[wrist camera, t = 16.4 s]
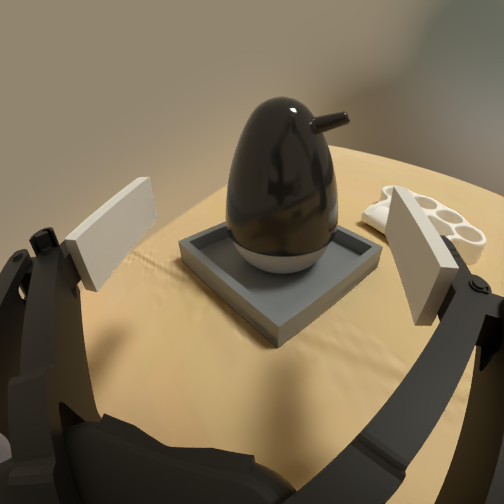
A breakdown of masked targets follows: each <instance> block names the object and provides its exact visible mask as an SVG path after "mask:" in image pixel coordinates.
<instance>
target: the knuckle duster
mask: <svg viewBox="0 0 504 504" xmlns="http://www.w3.org/2000/svg"><path fill="white" fill-rule="evenodd" d="M397 187H399V186H397ZM409 191H410V190H409ZM392 192H393V186H385V187H384V188H383V189H382V192H381V197H380V202H378V203H376V204H373V205H371V206H369V207H368V208H366V209H365V210H364V212H363V214H362V220H363V222H365V223H367V224H368V225H370V226H372V227H374V228H375V229H377V230H378V231H380V232H381V233H383V234H384V235H385V233H384V232H385V227H386V223H387V218H388V213H389V208H390V203H391V197H392ZM410 193H411V194H412V195H413V197H414V198H415V200H416V201H417V202H418V204H419V205H420V207H421V208H422V209H423V211H424V212H425V214H426V215H427V217H428V218H429V220H430V221H431V223H432V224H433V226H434V227H435V229H436V230H437V232H438V233H439V235H443V236H445V237H447V238H448V239H449V240H450V241H451V242H452V243H453V244H454V246H455V248H456V249H457V251H458V252H459V254H460V256H461V257H462V259H463V261H464V262H465V263H466V264H474V263H477V262H478V260H479V258H480V256H481V253H482V251H483V248H484V246H485V243H486V237H485V235H484V234H483V233H482V231H481V230H479V229H477V228H475V227H474V226H472V225H471V224H469V223H468V222H467V221H466V220H465V219H464V218H463V216H461V215H460V214H459V213H457V212H456V211H455V210H452V209H450V208H447V207H445V206H444V205H442V204H441V203H439V202H438V201H437V200H434V199H432V198H429V197H427V196H423V195H419V194H416V193H414V192H412V191H410Z"/></svg>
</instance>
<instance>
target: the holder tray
mask: <svg viewBox="0 0 504 504" xmlns="http://www.w3.org/2000/svg"><path fill="white" fill-rule="evenodd" d="M178 242H179V247H180V252H181V257H182V261H183V262H184V263H185V264H186V265H187V266H188V267H189V268H190V269H191V270H192V271H193V272H194V273H195V274H196V275H197V276H198V277H199V278H200V279H201V280H203V281H204V282H205V283H206V284H207V285H208V286H209V287H210V288H211V289H212V290H213V291H214V292H215V293H216V294H218V295H219V296H220V297H221V298H222V299H223V300H224V301H225V302H226V303H227V304H228V305H229V306H231V307H232V308H233V309H234V310H235V311H236V312H237V313H238V314H239V315H241V316H242V317H243V318H244V319H245V320H246V321H247V322H248V323H250V324H251V325H252V326H253V327H254V328H255V329H256V330H257V331H259V332H260V333H261V334H262V335H263V336H264V337H265V338H267V339H268V340H269V341H270V342H271V343H272V344H274V345H275V346H276V347H277V348H278V347H280V346H281V345H283V344H284V343H285V342H287V341H288V340H289V339H291V338H292V337H293V336H295V335H296V334H297V333H299V332H300V331H301V330H302V329H304V328H305V327H306V326H308V325H309V324H310V323H311V322H313V321H314V320H315V319H317V318H318V317H319V316H320V315H322V314H323V313H324V312H325V311H326V310H328V309H329V308H330V307H331V306H333V305H334V304H335V303H336V302H337V301H339V300H340V299H341V298H342V297H343V296H345V295H346V294H347V293H348V292H349V291H350V290H352V289H353V288H354V287H355V286H356V285H357V284H359V283H360V282H361V281H362V280H363V279H364V278H365V277H367V276H368V275H369V274H370V273H371V272H372V271H373V270H374V269H375V268H377V266H378V263H379V259H380V255H381V251H382V246H380V245H378V244H376V243H374V242H372V241H370V240H368V239H366V238H364V237H362V236H360V235H358V234H356V233H354V232H352V231H350V230H348V229H345V228H343V227H341V226H339V225H337V231H336V235H335V237H334V239H333V240H332V242H331V243H330V244H329V246H328V248H327V250H326V251H325V253H324V254H323V255H322V257H321V258H320V259H319V260H318V261H317V262H315V263H314V264H313V265H311V266H310V267H308V268H306V269H303V270H301V271H298V272H294V273H286V274H278V273H271V272H266V271H263V270H261V269H258V268H256V267H254V266H253V265H251V264H250V263H248V262H247V261H246V260H245V259H244V258H243V257H242V256H241V255H240V253H239V252H238V250H237V249H236V247H235V245H234V243H233V240H232V239H231V238H230V237H229V235H228V233H227V229H226V222H223V223H221V224H218V225H216V226H214V227H211V228H209V229H206V230H204V231H202V232H199V233H197V234H195V235H192V236H190V237H188V238H185V239H183V240H181V241H178Z"/></svg>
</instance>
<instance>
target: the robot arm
mask: <svg viewBox="0 0 504 504" xmlns="http://www.w3.org/2000/svg"><path fill="white" fill-rule="evenodd" d="M157 220H158V217H157V212H156V208H155V202H154V198H153V193H152V188H151V182H150V177H138V178H137V179H136V180H134V181H133V182H132V183H130V184H129V185H128V186H126V187H125V188H124V189H122V190H121V191H120V192H119V193H117V194H116V195H115V196H113V197H112V198H111V199H110V200H109V201H107V202H106V203H105V204H104V205H102V206H101V207H100V208H99V209H98V210H96V211H95V212H94V213H93V214H92V215H90V216H89V217H88V218H87V219H86V220H85V221H84V222H82V223H81V224H80V225H79V226H78V227H77V228H76V229H75V230H73V231H72V232H71V233H70V234H69V235H68V236H67V237H66V238H65V239H64V241H63V242H62V243H61V244H60V245H59V243H58V240H57V238H56V235H55V233H54V230H53V228H51V227H49V228H44V229H42V230H40V231H38V232H37V233H35V234H34V235H33V236H32V237H31V238H30V240H29V241H30V243H31V245H32V248H33V250H34V252H35V254H36V257H32V258H31V257H30V255H29V253H28V251H27V250H26V249H22V250H20V251H19V250H18V251H16V252H15V253H14V254H13V255H12V256H11V257H10V258H9V260H8V261H7V263H6V265H5V266H4V268H3V269H2V271H1V273H0V504H385V503H386V502H387V501H388V500H389V499H390V497H391V496H392V495H393V494H394V493H395V492H396V490H397V489H398V488H399V486H400V485H401V484H402V482H403V480H404V478H405V476H406V473H405V471H406V469H407V467H408V465H409V464H410V462H411V461H412V460H413V458H414V457H415V456H416V454H417V453H418V451H419V450H420V448H421V447H422V445H423V444H424V442H425V441H426V439H427V438H428V436H429V435H430V433H431V432H432V430H433V428H434V427H435V425H436V423H437V422H438V420H439V418H440V417H441V415H442V413H443V411H444V410H445V408H446V406H447V404H448V402H449V401H450V399H451V397H452V395H453V393H454V391H455V389H456V387H457V385H458V383H459V381H460V379H461V376H462V374H463V372H464V370H465V368H466V365H467V363H468V361H469V358H470V356H471V354H472V351H473V349H474V346H475V345H476V354H475V363H474V370H473V377H472V383H471V389H470V394H469V399H468V404H467V409H466V413H465V417H464V421H463V425H462V429H461V433H460V436H459V440H458V443H457V446H456V450H455V453H454V456H453V459H452V462H451V464H450V467H449V470H448V473H447V475H446V478H445V480H444V483H443V485H442V488H441V490H440V492H439V495H438V497H437V499H436V501H435V503H434V504H504V297H501V296H498V295H495V294H492V292H491V288H490V286H489V285H488V283H487V282H486V281H485V280H484V279H482V278H481V277H479V276H477V275H473V274H471V273H470V271H469V269H468V267H467V266H466V264H465V262H464V261H463V259H462V257H461V256H460V254H459V252H458V251H457V249H456V248H455V246H454V244H453V243H452V242H451V241H450V240H449V239H448V238H447V237H445V236H443V235H439V233H438V232H437V230H436V229H435V227H434V226H433V224H432V223H431V221H430V220H429V218H428V217H427V215H426V214H425V212H424V211H423V209H422V208H421V207H420V205H419V204H418V202H417V201H416V200H415V198H414V197H413V195H412V194H411V193H410V191H409V190H408V189H407V188H405V187H397V186H393V192H392V197H391V203H390V208H389V213H388V218H387V223H386V227H385V232H384V233H385V236H386V238H387V241H388V244H389V246H390V249H391V252H392V254H393V257H394V260H395V263H396V266H397V269H398V272H399V275H400V278H401V281H402V284H403V287H404V290H405V293H406V297H407V300H408V303H409V307H410V310H411V314H412V318H413V321H414V325H415V326H431V325H432V323H433V322H434V320H435V318H436V316H437V314H438V317H439V320H440V323H439V325H438V327H437V329H436V330H435V332H434V334H433V335H432V337H431V339H430V340H429V342H428V344H427V345H426V347H425V348H424V350H423V352H422V353H421V355H420V356H419V358H418V359H417V361H416V362H415V364H414V365H413V367H412V368H411V369H410V371H409V372H408V374H407V375H406V377H405V378H404V379H403V381H402V382H401V383H400V385H399V386H398V388H397V389H396V390H395V391H394V393H393V394H392V395H391V397H390V398H389V399H388V400H387V402H386V403H385V404H384V405H383V407H382V408H381V409H380V410H379V412H378V413H377V414H376V415H375V416H374V417H373V419H372V420H371V421H370V422H369V423H368V424H367V426H366V427H365V428H364V429H363V430H362V431H361V432H360V433H359V434H358V435H357V436H356V437H355V439H354V440H353V441H352V442H351V443H350V444H349V445H348V446H347V447H346V448H345V449H344V450H343V451H342V452H341V453H340V454H339V455H338V456H337V457H336V458H335V459H334V460H333V461H332V462H330V463H329V464H328V465H327V466H326V467H325V468H324V469H323V470H322V471H321V472H320V473H318V474H317V475H316V476H315V477H314V478H313V479H312V480H310V481H309V482H308V483H307V484H306V485H304V486H303V487H302V488H301V489H300V490H298V491H296V490H295V489H294V488H293V487H292V485H291V484H290V483H289V482H288V481H286V480H285V479H284V478H283V477H282V476H280V475H279V474H277V473H276V472H274V471H273V470H271V469H269V468H267V467H265V466H263V465H260V464H258V463H255V459H254V455H247V454H241V453H235V452H230V451H224V450H219V449H215V448H182V447H169V446H166V445H164V444H162V443H160V442H159V441H157V440H156V439H154V438H153V437H151V436H149V435H148V434H146V433H145V432H143V431H142V430H140V429H139V428H137V427H136V426H135V425H132V424H129V423H127V422H124V421H121V420H119V419H116V418H114V417H112V416H109V415H107V414H104V415H103V417H102V419H101V417H100V415H99V414H98V411H97V409H96V405H95V401H94V396H93V391H92V386H91V381H90V376H89V370H88V364H87V357H86V350H85V343H84V335H83V325H82V314H81V300H80V290H79V287H78V285H77V284H78V283H79V281H80V280H82V283H83V285H84V287H85V289H86V290H90V291H94V292H98V291H99V290H100V288H101V287H102V286H103V284H104V283H105V282H106V281H107V279H108V278H109V277H110V275H111V274H112V273H113V272H114V270H115V269H116V268H117V267H118V265H119V264H120V263H121V262H122V261H123V259H124V258H125V257H126V256H127V254H128V253H129V252H130V251H131V250H132V248H133V247H134V246H135V245H136V244H137V242H138V241H139V240H140V239H141V238H142V236H144V234H145V233H146V232H147V231H148V230H149V229H150V227H151V226H152V225H153V224H154V223H155V222H156V221H157ZM19 286H20V288H21V290H22V292H23V293H24V295H25V297H24V299H22V298H21V296H20V294H19Z"/></svg>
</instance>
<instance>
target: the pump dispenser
mask: <svg viewBox="0 0 504 504" xmlns="http://www.w3.org/2000/svg"><path fill="white" fill-rule="evenodd" d="M349 123H350V117H349V115H348V113H347V112H345V111H343V112H338V113H333V114H328V115H323V116H319V117H314V115H313V113H312V112H311V111H310V110H309V108H308V107H307V106H306V105H305V104H303V103H302V102H300V101H298V100H296V99H293V98H289V97H275V98H271V99H268V100H266V101H264V102H263V103H261V104H259V105H258V106H257V107H256V108H255V109H254V111H253V112H252V114H251V115H250V117H249V118H248V120H247V122H246V124H245V126H244V128H243V131H242V133H241V136H240V138H239V141H238V144H237V147H236V150H235V153H234V157H233V161H232V165H231V169H230V174H229V181H228V188H227V198H226V229H227V233H228V235H229V237H230V238H231V239H232V240H233V243H234V245H235V247H236V249H237V250H238V252H239V253H240V255H241V256H242V257H243V258H244V259H245V260H246V261H247V262H248V263H250V264H251V265H253V266H254V267H256V268H258V269H261V270H263V271H266V272H271V273H278V274H286V273H294V272H298V271H301V270H303V269H306V268H308V267H310V266H311V265H313V264H314V263H315V262H317V261H318V260H319V259H320V258H321V257H322V255H323V254H324V253H325V251H326V250H327V248H328V246H329V244H330V243H331V242H332V240H333V239H334V237H335V235H336V231H337V224H338V194H337V183H336V176H335V171H334V166H333V161H332V158H331V154H330V151H329V147H328V145H327V142H326V139H325V137H324V134H323V133H324V132H327V131H330V130H333V129H336V128H339V127H341V126H343V125H347V124H349Z"/></svg>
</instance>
